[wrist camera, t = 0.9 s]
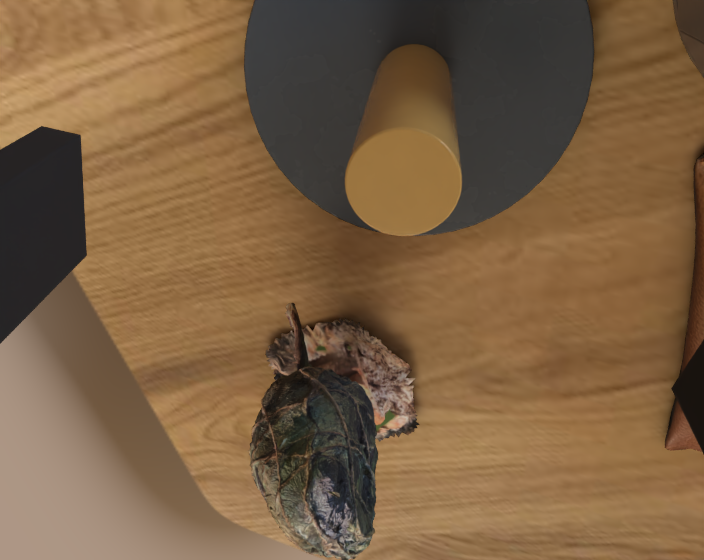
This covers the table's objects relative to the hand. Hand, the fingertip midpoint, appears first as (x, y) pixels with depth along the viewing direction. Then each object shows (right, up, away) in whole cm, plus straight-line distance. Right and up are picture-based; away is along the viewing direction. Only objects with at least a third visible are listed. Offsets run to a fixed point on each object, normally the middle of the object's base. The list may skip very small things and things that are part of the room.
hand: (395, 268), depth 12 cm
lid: (+2, +8, +12) cm, 15 cm away
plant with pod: (-1, -5, +21) cm, 22 cm away
